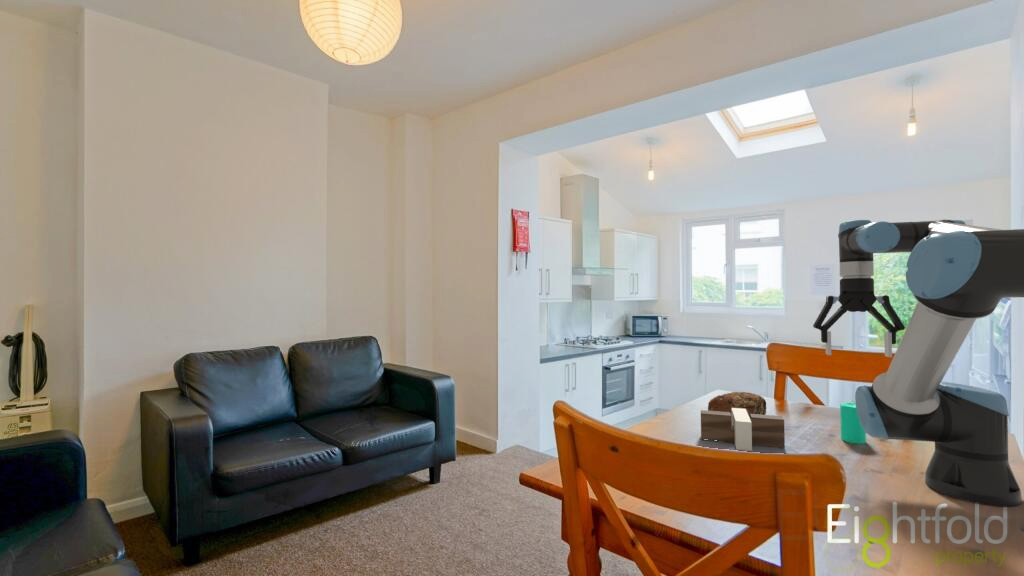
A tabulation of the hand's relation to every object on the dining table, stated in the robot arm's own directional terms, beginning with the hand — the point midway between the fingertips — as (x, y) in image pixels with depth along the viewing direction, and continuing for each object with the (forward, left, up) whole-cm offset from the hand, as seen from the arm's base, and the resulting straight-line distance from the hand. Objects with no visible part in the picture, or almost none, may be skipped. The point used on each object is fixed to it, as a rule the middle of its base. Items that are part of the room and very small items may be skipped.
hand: (857, 355), depth 128 cm
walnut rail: (+1, +29, -27) cm, 39 cm away
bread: (+24, +28, -27) cm, 46 cm away
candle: (+13, -2, -27) cm, 30 cm away
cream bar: (+1, +29, -27) cm, 39 cm away
